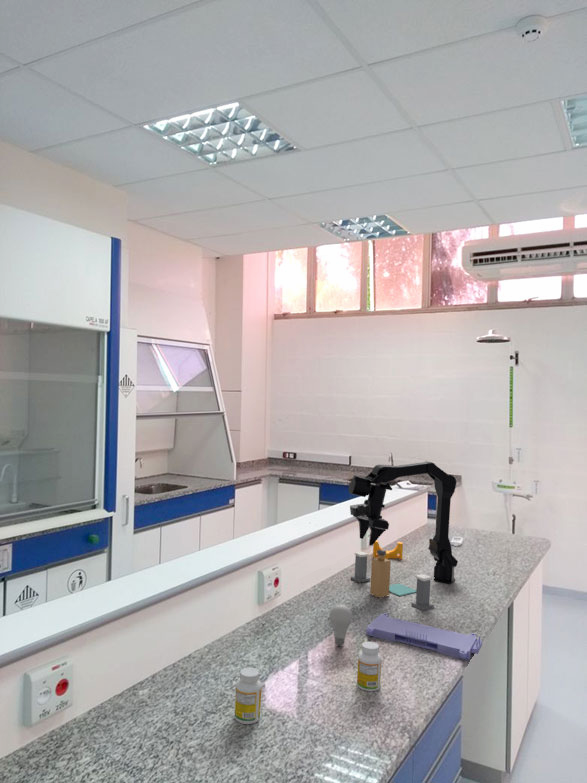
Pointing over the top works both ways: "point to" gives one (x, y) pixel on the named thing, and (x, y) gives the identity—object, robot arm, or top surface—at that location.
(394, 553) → the pipe clamp
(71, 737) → the top surface
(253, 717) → the supplement bottle
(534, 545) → the top surface
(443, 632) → the computer part
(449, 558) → the robot arm
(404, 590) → the mat
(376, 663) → the supplement bottle
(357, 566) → the post right
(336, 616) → the lightbulb
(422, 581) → the post
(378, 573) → the bottle
